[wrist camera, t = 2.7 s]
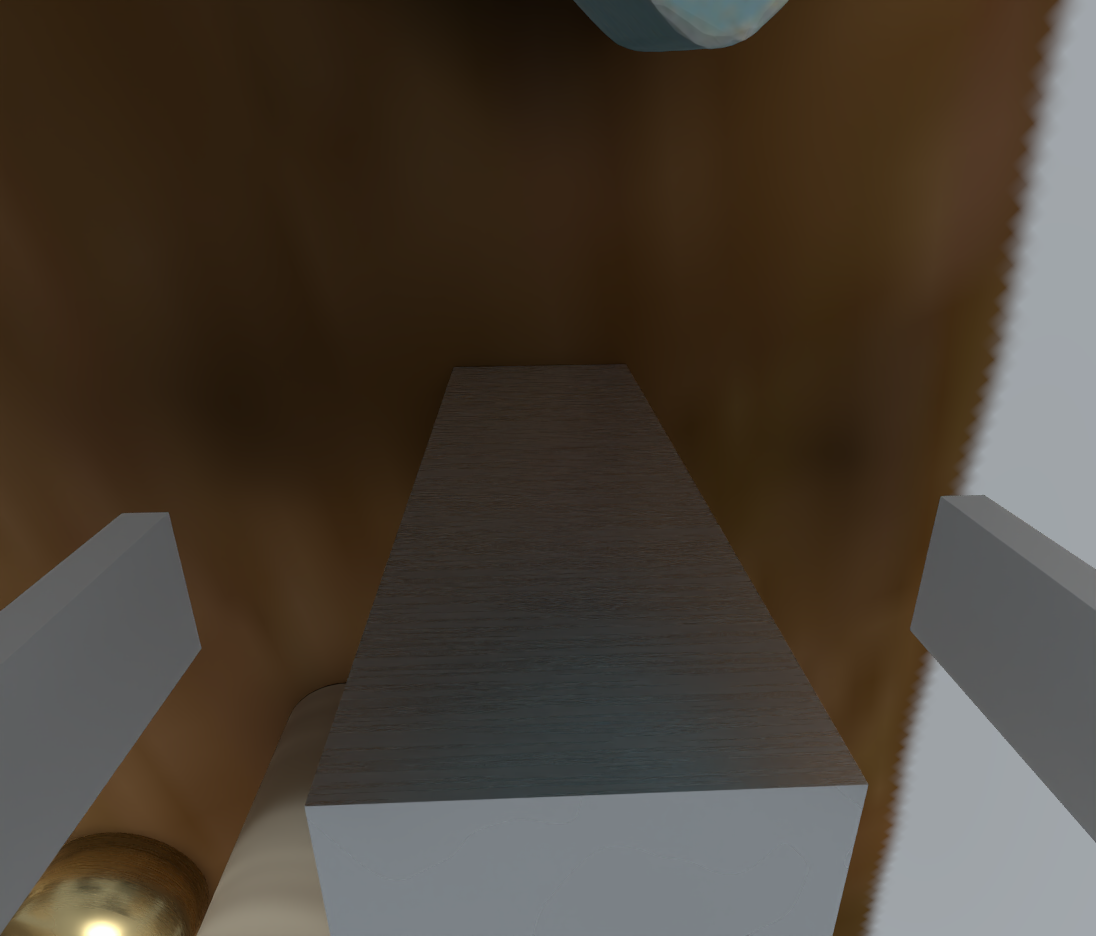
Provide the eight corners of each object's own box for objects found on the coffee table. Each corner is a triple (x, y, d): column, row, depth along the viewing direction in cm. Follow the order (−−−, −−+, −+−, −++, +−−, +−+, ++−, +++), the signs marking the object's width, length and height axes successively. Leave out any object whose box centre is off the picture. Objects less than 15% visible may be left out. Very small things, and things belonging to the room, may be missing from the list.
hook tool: (453, 367, 16) (304, 806, 5) (626, 364, 16) (867, 784, 5) (479, 778, 21) (435, 1456, 10) (610, 773, 21) (712, 1437, 10)
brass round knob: (29, 831, 21) (-33, 913, 19) (194, 826, 21) (153, 907, 19) (71, 937, 23) (19, 1025, 21) (222, 932, 23) (188, 1018, 21)
